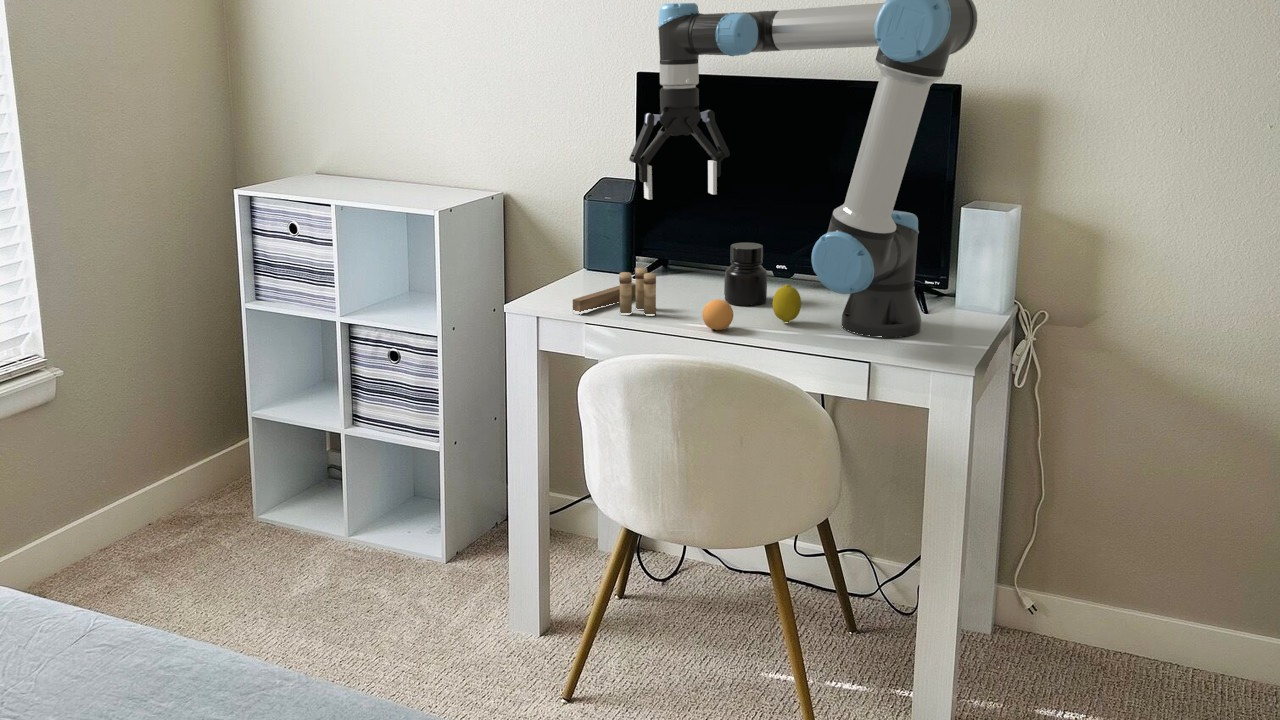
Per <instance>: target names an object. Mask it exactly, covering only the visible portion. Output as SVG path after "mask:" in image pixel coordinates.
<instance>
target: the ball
mask: <svg viewBox="0 0 1280 720" xmlns="http://www.w3.org/2000/svg"><path fill="white" fill-rule="evenodd" d="M703 307H704V308H703V310H702V315H701V316H702V320H703V323H704V324H705V325H706V326H707V328H709V329H710V328H711V330H713V329H715V330H714V331H722V329H723V330H725V329H726V328H729V326H730V325H731V324H732V322H733V319H734V310H733V307H732V306H731V304H730V303H728V302H727V301H726V300H725V299H724V300H723V299H720V298H719V299H713V300H711V301H709V302H707V303H706V304H705V305H704V306H703Z"/></svg>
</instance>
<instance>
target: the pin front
mask: <svg viewBox="0 0 1280 720" xmlns="http://www.w3.org/2000/svg"><path fill="white" fill-rule="evenodd" d="M644 313H645V314H655V313H656V314H657V274H656V273H655V272H647V273H645V274H644V310H643V314H644Z"/></svg>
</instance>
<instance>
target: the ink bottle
mask: <svg viewBox="0 0 1280 720" xmlns="http://www.w3.org/2000/svg"><path fill="white" fill-rule="evenodd" d="M729 249H730V253H729V254H730V264H731V265H729V267H728V268H727V269H725V273H724V293H723V295H724V301H726V302H727V303H728V304H729V305H734V306H743V307H746V306H749V307H751V306H758V305H763V304H765V303H766V302H767V301H768V300H767V296H768V271H767V270H766V268H764V267H763V265H762V264H763V259H764V246H763V244H760V243H756V242H736V243H732V244H731V245H730V247H729Z"/></svg>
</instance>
